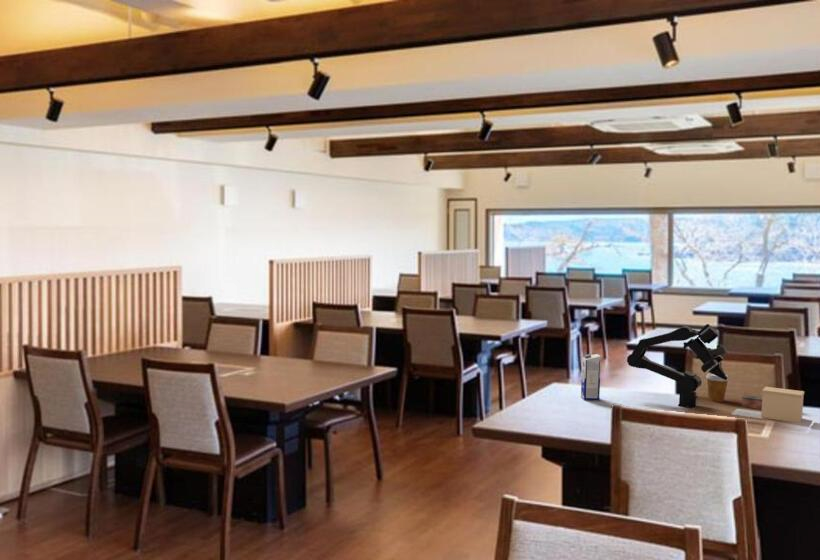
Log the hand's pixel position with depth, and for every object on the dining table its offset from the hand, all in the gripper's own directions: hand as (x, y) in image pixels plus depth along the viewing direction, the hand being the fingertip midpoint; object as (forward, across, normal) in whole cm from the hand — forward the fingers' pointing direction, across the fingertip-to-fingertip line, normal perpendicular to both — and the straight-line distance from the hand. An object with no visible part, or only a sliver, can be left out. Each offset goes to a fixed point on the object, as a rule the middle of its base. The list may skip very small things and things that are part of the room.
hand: (726, 379), depth 327 cm
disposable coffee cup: (+5, +19, +15) cm, 25 cm away
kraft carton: (+25, 0, -6) cm, 25 cm away
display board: (+21, 0, -2) cm, 21 cm away
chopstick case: (+20, +15, -1) cm, 25 cm away
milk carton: (-28, -12, +49) cm, 58 cm away
